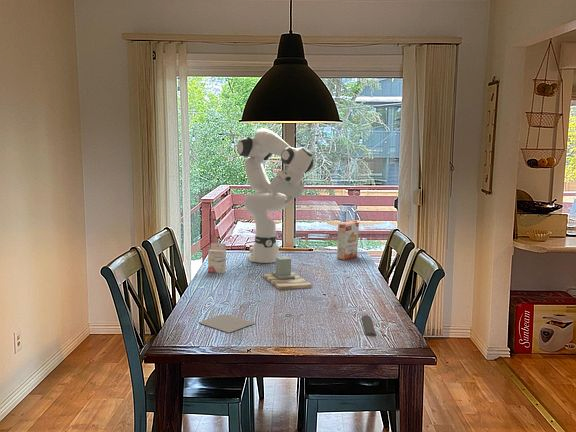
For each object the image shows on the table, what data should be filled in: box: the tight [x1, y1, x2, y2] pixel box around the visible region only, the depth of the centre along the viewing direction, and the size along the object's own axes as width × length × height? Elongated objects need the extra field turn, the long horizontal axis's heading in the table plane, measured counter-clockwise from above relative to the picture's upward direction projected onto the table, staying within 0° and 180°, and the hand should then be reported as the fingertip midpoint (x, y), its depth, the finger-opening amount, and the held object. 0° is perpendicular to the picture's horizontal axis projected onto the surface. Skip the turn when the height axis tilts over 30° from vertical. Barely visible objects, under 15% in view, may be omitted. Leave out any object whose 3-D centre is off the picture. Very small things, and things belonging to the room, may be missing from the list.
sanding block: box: [271, 255, 295, 280], centre depth 278 cm, size 12×8×9 cm, turn 20°
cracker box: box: [336, 220, 360, 261], centre depth 329 cm, size 14×6×21 cm, turn 141°
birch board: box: [262, 270, 313, 291], centre depth 274 cm, size 26×16×2 cm, turn 20°
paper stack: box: [198, 313, 255, 334], centre depth 214 cm, size 23×25×1 cm
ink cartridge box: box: [207, 242, 227, 274], centre depth 291 cm, size 9×5×15 cm, turn 84°
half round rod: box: [360, 314, 377, 337], centre depth 212 cm, size 4×20×2 cm, turn 177°
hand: (279, 201), depth 287 cm, fingers open, 8 cm apart
